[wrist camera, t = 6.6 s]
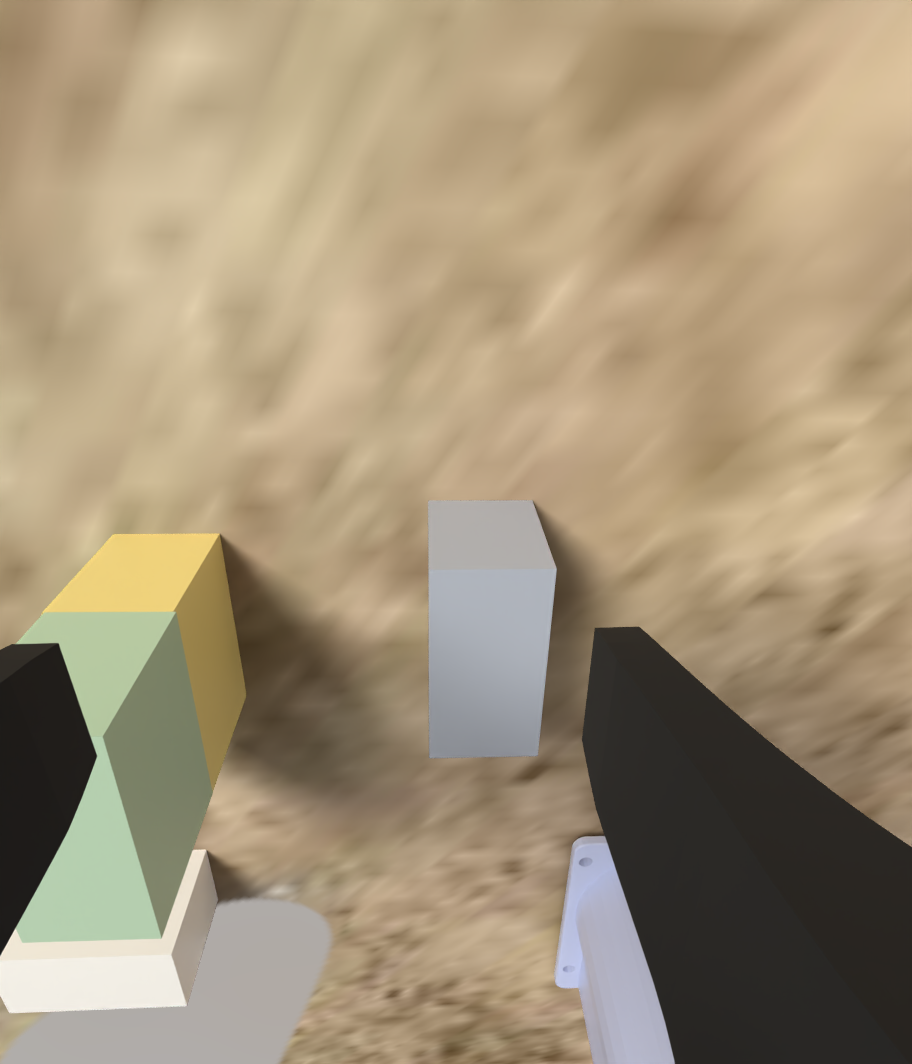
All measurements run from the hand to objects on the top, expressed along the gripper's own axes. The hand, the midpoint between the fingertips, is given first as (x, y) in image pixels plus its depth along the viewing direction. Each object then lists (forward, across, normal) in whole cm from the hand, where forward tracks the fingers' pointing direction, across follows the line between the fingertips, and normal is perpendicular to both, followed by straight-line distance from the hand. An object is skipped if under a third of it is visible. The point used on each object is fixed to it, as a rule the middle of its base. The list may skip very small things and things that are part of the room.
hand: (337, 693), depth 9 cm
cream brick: (+10, +10, +18) cm, 23 cm away
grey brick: (+10, -3, +5) cm, 11 cm away
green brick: (+6, +6, +6) cm, 10 cm away
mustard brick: (+10, +6, +6) cm, 13 cm away
